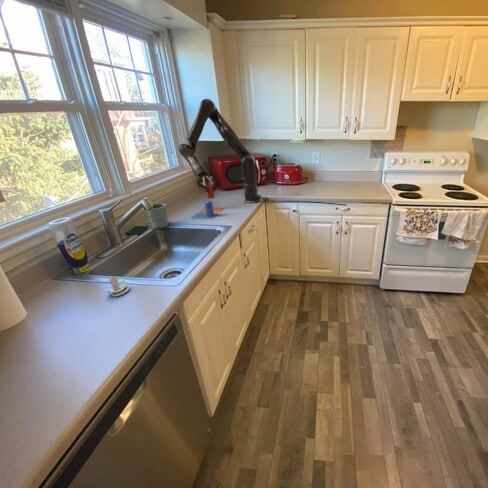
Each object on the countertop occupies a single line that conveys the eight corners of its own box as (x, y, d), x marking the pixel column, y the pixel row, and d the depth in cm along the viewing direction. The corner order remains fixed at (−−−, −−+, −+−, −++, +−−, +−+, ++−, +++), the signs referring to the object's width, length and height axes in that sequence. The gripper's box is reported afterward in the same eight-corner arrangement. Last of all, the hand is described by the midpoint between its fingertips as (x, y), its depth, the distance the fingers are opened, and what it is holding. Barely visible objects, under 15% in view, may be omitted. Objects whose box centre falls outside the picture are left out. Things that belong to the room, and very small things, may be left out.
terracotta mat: (224, 208, 195) (224, 207, 195) (219, 212, 187) (219, 211, 187) (206, 207, 196) (206, 207, 196) (200, 211, 188) (200, 211, 187)
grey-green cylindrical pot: (150, 229, 157) (145, 209, 152) (150, 224, 165) (145, 204, 160) (170, 227, 161) (166, 207, 156) (169, 221, 170) (165, 202, 164)
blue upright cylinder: (215, 214, 181) (213, 201, 177) (212, 217, 177) (210, 203, 173) (208, 214, 181) (206, 201, 178) (205, 216, 177) (203, 203, 173)
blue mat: (217, 213, 184) (217, 213, 184) (212, 219, 175) (211, 218, 174) (198, 213, 184) (198, 212, 184) (191, 218, 175) (191, 217, 175)
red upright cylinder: (215, 196, 190) (213, 183, 186) (212, 198, 186) (211, 185, 182) (208, 196, 190) (207, 183, 186) (206, 198, 186) (204, 185, 182)
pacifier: (134, 288, 105) (121, 285, 106) (130, 274, 102) (117, 271, 104) (117, 299, 98) (103, 296, 100) (112, 284, 96) (98, 281, 97)
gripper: (190, 167, 179) (203, 189, 177) (210, 165, 189) (222, 185, 187) (187, 174, 184) (200, 196, 182) (206, 172, 194) (219, 192, 192)
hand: (211, 190), depth 185 cm, fingers closed on red upright cylinder, 4 cm apart
